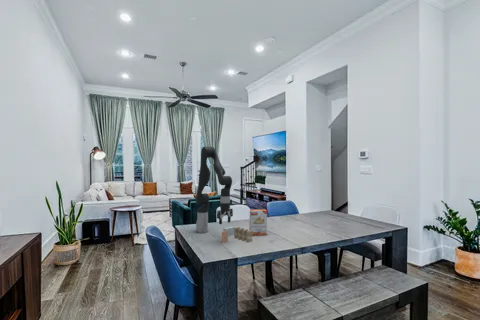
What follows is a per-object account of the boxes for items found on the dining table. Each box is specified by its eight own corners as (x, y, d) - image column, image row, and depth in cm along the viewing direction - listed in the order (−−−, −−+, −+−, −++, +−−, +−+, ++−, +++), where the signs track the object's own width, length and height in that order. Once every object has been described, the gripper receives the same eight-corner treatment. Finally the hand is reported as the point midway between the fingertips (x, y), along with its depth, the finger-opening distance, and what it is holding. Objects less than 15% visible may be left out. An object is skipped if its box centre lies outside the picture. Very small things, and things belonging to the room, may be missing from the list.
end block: (223, 235, 206) (223, 228, 206) (232, 233, 213) (232, 226, 213) (225, 236, 204) (225, 229, 204) (234, 234, 211) (234, 227, 211)
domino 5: (246, 241, 191) (246, 231, 191) (250, 240, 195) (250, 230, 195) (247, 242, 190) (248, 231, 190) (252, 241, 193) (252, 230, 194)
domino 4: (242, 240, 194) (242, 230, 194) (246, 239, 198) (246, 229, 198) (243, 241, 193) (243, 230, 193) (248, 239, 197) (248, 229, 197)
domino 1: (221, 242, 190) (221, 231, 190) (226, 240, 193) (226, 230, 194) (222, 242, 189) (223, 232, 189) (227, 241, 192) (227, 230, 192)
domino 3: (238, 239, 197) (238, 229, 197) (242, 238, 201) (242, 228, 201) (239, 239, 196) (239, 229, 196) (244, 238, 200) (244, 228, 200)
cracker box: (250, 236, 206) (251, 210, 207) (249, 234, 212) (249, 209, 213) (267, 235, 209) (267, 210, 209) (264, 233, 215) (265, 209, 215)
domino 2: (234, 238, 201) (234, 228, 201) (238, 236, 204) (238, 227, 204) (235, 238, 199) (235, 228, 200) (240, 237, 203) (240, 227, 203)
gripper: (221, 203, 184) (221, 225, 184) (235, 201, 194) (234, 222, 194) (214, 202, 189) (214, 223, 189) (228, 200, 199) (228, 220, 199)
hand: (224, 223), depth 191 cm, fingers open, 8 cm apart
